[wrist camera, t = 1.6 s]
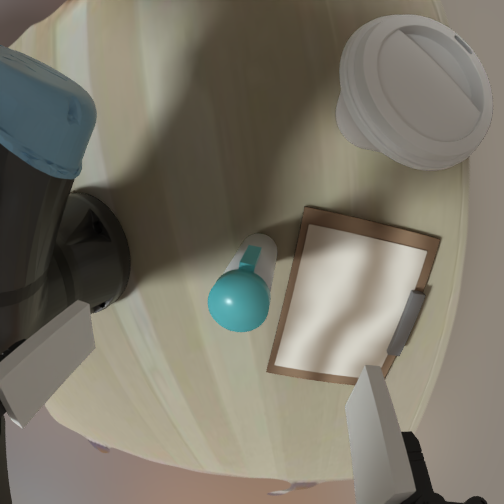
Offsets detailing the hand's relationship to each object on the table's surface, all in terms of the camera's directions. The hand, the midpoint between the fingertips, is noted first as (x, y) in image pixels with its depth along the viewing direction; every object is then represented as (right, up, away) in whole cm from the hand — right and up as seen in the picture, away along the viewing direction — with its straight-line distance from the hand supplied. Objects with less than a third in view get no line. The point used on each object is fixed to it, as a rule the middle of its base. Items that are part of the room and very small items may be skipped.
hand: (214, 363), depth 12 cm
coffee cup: (+13, +18, +12) cm, 25 cm away
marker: (+2, +5, +18) cm, 19 cm away
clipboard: (+12, -1, +18) cm, 22 cm away
